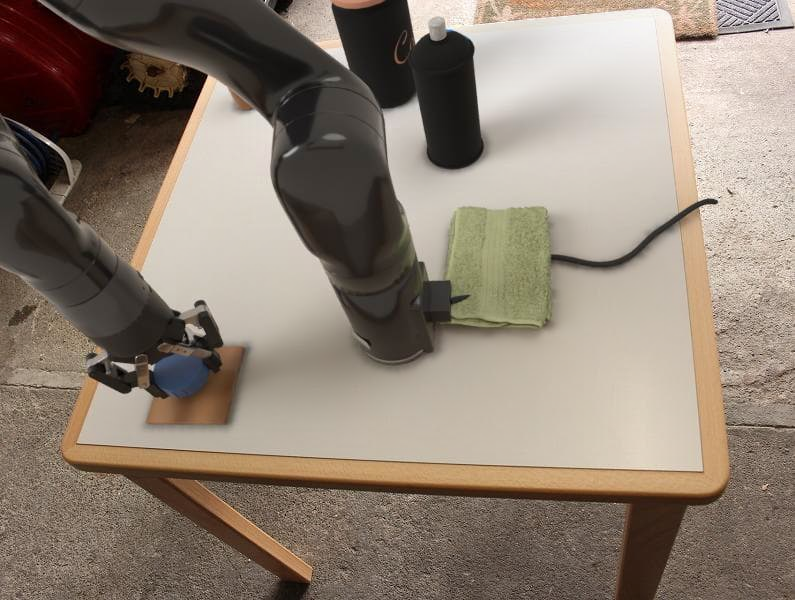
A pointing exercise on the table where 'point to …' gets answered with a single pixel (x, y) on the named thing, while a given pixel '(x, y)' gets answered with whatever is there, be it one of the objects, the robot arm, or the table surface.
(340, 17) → the coffee jar
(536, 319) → the washcloth
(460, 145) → the aerosol can
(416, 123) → the table surface
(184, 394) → the jar lid
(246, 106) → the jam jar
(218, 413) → the mat
